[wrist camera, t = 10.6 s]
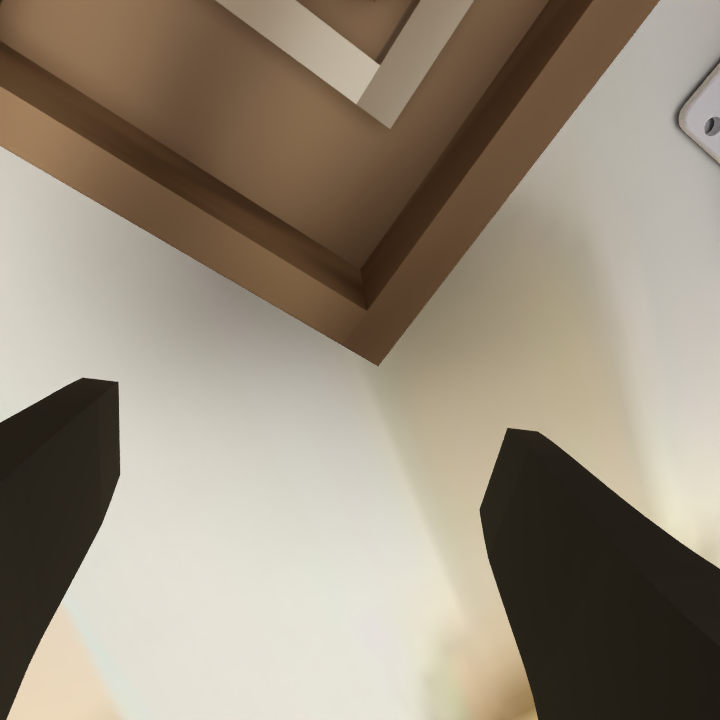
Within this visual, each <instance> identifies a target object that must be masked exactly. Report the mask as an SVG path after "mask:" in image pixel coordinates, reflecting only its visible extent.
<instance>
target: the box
mask: <svg viewBox="0 0 720 720" xmlns="http://www.w3.org/2000/svg"><path fill="white" fill-rule="evenodd" d="M659 1H660V0H376V1H375V2H373V1H372V0H0V146H1V147H3V148H5V149H7V150H8V151H10V152H12V153H13V154H15V155H17V156H19V157H20V158H22V159H24V160H25V161H27V162H29V163H31V164H32V165H34V166H36V167H37V168H39V169H41V170H43V171H44V172H46V173H48V174H49V175H51V176H53V177H55V178H56V179H58V180H60V181H61V182H63V183H65V184H67V185H68V186H70V187H72V188H73V189H75V190H77V191H79V192H80V193H82V194H84V195H85V196H87V197H89V198H91V199H92V200H94V201H96V202H97V203H99V204H101V205H103V206H104V207H106V208H108V209H109V210H111V211H113V212H115V213H116V214H118V215H120V216H121V217H123V218H125V219H127V220H128V221H130V222H132V223H133V224H135V225H137V226H139V227H140V228H142V229H144V230H145V231H147V232H149V233H151V234H152V235H154V236H156V237H157V238H159V239H161V240H163V241H164V242H166V243H168V244H169V245H171V246H173V247H175V248H176V249H178V250H180V251H181V252H183V253H185V254H187V255H188V256H190V257H192V258H193V259H195V260H197V261H199V262H200V263H202V264H204V265H205V266H207V267H209V268H211V269H212V270H214V271H216V272H217V273H219V274H221V275H223V276H224V277H226V278H228V279H229V280H231V281H233V282H235V283H236V284H238V285H240V286H241V287H243V288H245V289H247V290H248V291H250V292H252V293H253V294H255V295H257V296H259V297H260V298H262V299H264V300H265V301H267V302H269V303H271V304H272V305H274V306H276V307H278V308H279V309H281V310H283V311H284V312H286V313H288V314H290V315H291V316H293V317H295V318H296V319H298V320H300V321H302V322H303V323H305V324H307V325H308V326H310V327H312V328H314V329H315V330H317V331H319V332H320V333H322V334H324V335H326V336H327V337H329V338H331V339H332V340H334V341H336V342H338V343H339V344H341V345H343V346H344V347H346V348H348V349H350V350H351V351H353V352H355V353H356V354H358V355H360V356H362V357H363V358H365V359H367V360H368V361H370V362H372V363H374V364H375V365H377V366H379V364H380V363H381V362H382V360H383V359H384V358H385V357H386V355H387V354H388V353H389V351H390V350H391V349H392V347H393V346H394V345H395V344H396V342H397V341H398V340H399V338H400V337H401V336H402V334H403V333H404V332H405V331H406V329H407V328H408V327H409V325H410V324H411V323H412V321H413V320H414V319H415V318H416V316H417V315H418V314H419V312H420V311H421V310H422V308H423V307H424V306H425V305H426V303H427V302H428V301H429V299H430V298H431V297H432V295H433V294H434V293H435V292H436V290H437V289H438V288H439V286H440V285H441V284H442V282H443V281H444V280H445V279H446V277H447V276H448V275H449V273H450V272H451V271H452V270H453V268H454V267H455V266H456V264H457V263H458V262H459V260H460V259H461V258H462V257H463V255H464V254H465V253H466V251H467V250H468V249H469V247H470V246H471V245H472V244H473V242H474V241H475V240H476V238H477V237H478V236H479V234H480V233H481V232H482V231H483V229H484V228H485V227H486V225H487V224H488V223H489V221H490V220H491V219H492V218H493V216H494V215H495V214H496V212H497V211H498V210H499V208H500V207H501V206H502V205H503V203H504V202H505V201H506V199H507V198H508V197H509V195H510V194H511V193H512V192H513V190H514V189H515V188H516V186H517V185H518V184H519V182H520V181H521V180H522V179H523V177H524V176H525V175H526V173H527V172H528V171H529V169H530V168H531V167H532V166H533V164H534V163H535V162H536V160H537V159H538V158H539V156H540V155H541V154H542V153H543V151H544V150H545V149H546V147H547V146H548V145H549V144H550V142H551V141H552V140H553V138H554V137H555V136H556V134H557V133H558V132H559V131H560V129H561V128H562V127H563V125H564V124H565V123H566V121H567V120H568V119H569V118H570V116H571V115H572V114H573V112H574V111H575V110H576V108H577V107H578V106H579V105H580V103H581V102H582V101H583V99H584V98H585V97H586V95H587V94H588V93H589V92H590V90H591V89H592V88H593V86H594V85H595V84H596V82H597V81H598V80H599V79H600V77H601V76H602V75H603V73H604V72H605V71H606V69H607V68H608V67H609V66H610V64H611V63H612V62H613V60H614V59H615V58H616V56H617V55H618V54H619V53H620V51H621V50H622V49H623V47H624V46H625V45H626V43H627V42H628V41H629V40H630V38H631V37H632V36H633V34H634V33H635V32H636V31H637V29H638V28H639V27H640V25H641V24H642V23H643V21H644V20H645V19H646V18H647V16H648V15H649V14H650V12H651V11H652V10H653V8H654V7H655V6H656V5H657V3H658V2H659Z"/></svg>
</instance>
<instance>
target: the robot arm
mask: <svg viewBox="0 0 720 720" xmlns="http://www.w3.org/2000/svg"><path fill="white" fill-rule="evenodd" d="M712 117H713V119H714V127H713V128H712V130H711V131H710V132H709V133H707V134H706V133H705V132H704V126H705V124H706V122H707V121H708V120H709V119H710V118H712ZM678 119H679V126H680V127H681V129H682V130H683V131H684V132H685V133H686V134H687V135H688V136H690V137H691V138H692V139H693V140H694V141H695V142H696V143H697V144H698V145H700V146H701V147H702V148H703V149H704V150H705V151H706V152H707V153H708V154H709V155H711V156H712V157H713V158H714V159H715V160H716V161H717V162H718V163H719V164H720V63H719V64H718V65H717V66H716V68H715V69H714V70H713V71H712V72H711V74H710V75H709V76H708V77H707V78H706V80H705V81H704V82H703V83H702V84H701V86H700V87H699V88H698V89H697V90H696V91H695V93H694V94H693V95H692V96H691V97H690V99H689V100H688V101H687V102H686V103H685V105H684V106H683V108H682V109H681V111H680V114H679V118H678ZM119 476H120V441H119V389H118V382H114V381H106V380H97V379H89V378H81V379H79V380H77V381H75V382H73V383H71V384H69V385H67V386H65V387H63V388H62V389H60V390H58V391H56V392H54V393H53V394H51V395H49V396H47V397H46V398H44V399H42V400H40V401H38V402H37V403H35V404H33V405H31V406H30V407H28V408H26V409H24V410H22V411H21V412H19V413H17V414H15V415H13V416H11V417H10V418H8V419H6V420H4V421H2V422H1V423H0V720H6V719H7V717H8V714H9V712H10V709H11V707H12V704H13V702H14V699H15V697H16V695H17V692H18V689H19V687H20V685H21V682H22V680H23V678H24V675H25V672H26V670H27V668H28V666H29V663H30V661H31V659H32V657H33V655H34V653H35V651H36V649H37V647H38V645H39V643H40V641H41V638H42V637H43V635H44V633H45V631H46V629H47V627H48V625H49V623H50V622H51V619H52V618H53V616H54V614H55V612H56V610H57V608H58V606H59V605H60V603H61V601H62V599H63V597H64V595H65V593H66V591H67V590H68V588H69V586H70V584H71V582H72V580H73V578H74V576H75V575H76V573H77V571H78V569H79V567H80V565H81V563H82V561H83V559H84V558H85V556H86V554H87V552H88V550H89V548H90V546H91V544H92V542H93V540H94V538H95V536H96V534H97V533H98V531H99V529H100V527H101V525H102V522H103V520H104V517H105V515H106V512H107V509H108V507H109V504H110V502H111V499H112V496H113V493H114V490H115V487H116V485H117V482H118V479H119ZM480 516H481V522H482V528H483V534H484V539H485V544H486V549H487V554H488V559H489V562H490V565H491V568H492V571H493V574H494V578H495V581H496V584H497V587H498V590H499V593H500V596H501V599H502V602H503V605H504V608H505V611H506V614H507V617H508V620H509V623H510V626H511V629H512V632H513V635H514V637H515V640H516V643H517V646H518V649H519V652H520V655H521V658H522V661H523V664H524V667H525V670H526V674H527V677H528V681H529V684H530V687H531V691H532V694H533V698H534V703H535V707H536V711H537V716H538V720H720V569H719V568H718V567H716V566H715V565H713V564H712V563H710V562H708V561H707V560H705V559H704V558H702V557H701V556H699V555H698V554H696V553H695V552H693V551H692V550H690V549H689V548H688V547H686V546H685V545H683V544H682V543H680V542H679V541H677V540H676V539H675V538H673V537H672V536H671V535H669V534H668V533H667V532H665V531H664V530H663V529H661V528H660V527H659V526H657V525H656V524H654V523H653V522H652V521H650V520H649V519H648V518H646V517H645V516H644V515H642V514H641V513H640V512H639V511H637V510H636V509H635V508H633V507H632V506H631V505H630V504H628V503H627V502H626V501H625V500H623V499H622V498H621V497H620V496H618V495H617V494H616V493H615V492H613V491H612V490H611V489H610V488H608V487H607V486H606V485H605V484H604V483H602V482H601V481H600V480H599V479H597V478H596V477H595V476H594V475H593V474H591V473H590V472H589V471H588V470H587V469H585V468H584V467H583V466H582V465H581V464H579V463H578V462H577V461H576V460H575V459H573V458H572V457H571V456H570V455H568V454H567V453H566V452H565V451H563V450H562V449H561V448H560V447H558V446H557V445H556V444H555V443H553V442H552V441H551V440H549V439H548V438H547V437H545V436H544V435H542V434H541V433H539V432H537V431H529V430H520V429H512V428H507V431H506V434H505V437H504V440H503V443H502V446H501V449H500V452H499V454H498V457H497V460H496V463H495V466H494V469H493V472H492V475H491V478H490V481H489V484H488V487H487V490H486V492H485V495H484V498H483V501H482V504H481V507H480Z"/></svg>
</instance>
